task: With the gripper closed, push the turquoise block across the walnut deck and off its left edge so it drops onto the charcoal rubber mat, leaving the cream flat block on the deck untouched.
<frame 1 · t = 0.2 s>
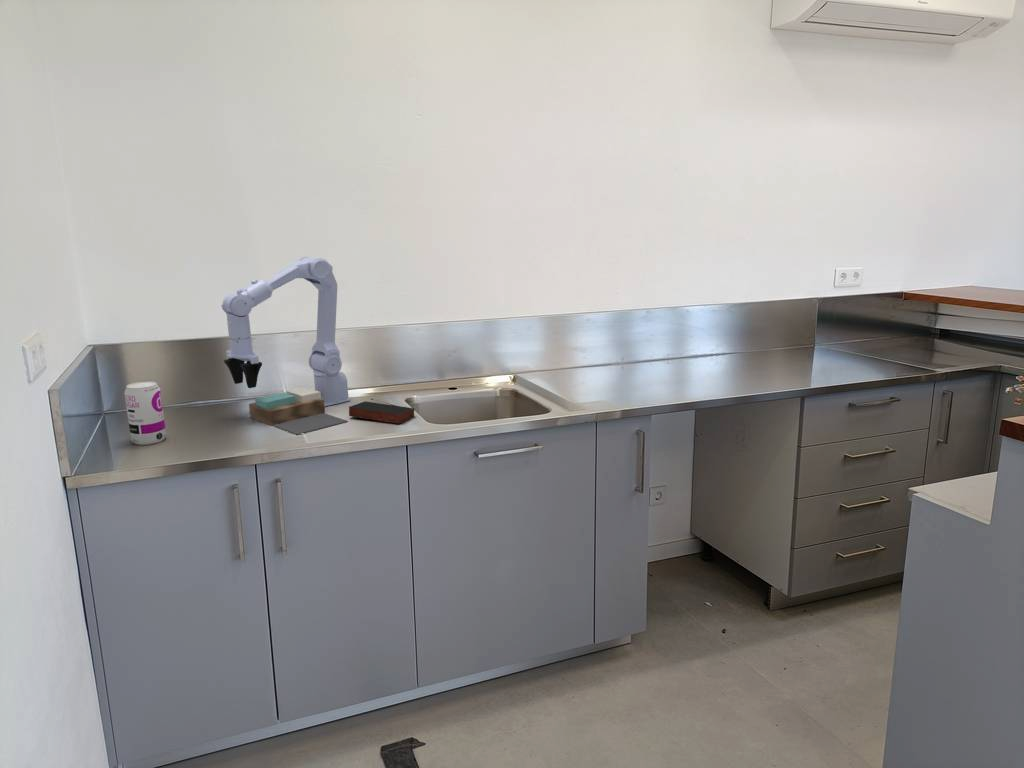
hand: (245, 385, 205), 10 cm above the counter, fingers open, 7 cm apart
turquoise block: (275, 404, 208), point 4 cm above the counter, touching deck
deck: (287, 415, 211), on the counter
supplement can: (149, 441, 189), on the counter
cream flat block: (303, 397, 214), point 4 cm above the counter, touching deck
mat: (311, 424, 202), on the counter
kitchen sponge: (370, 415, 203), point 2 cm above the counter
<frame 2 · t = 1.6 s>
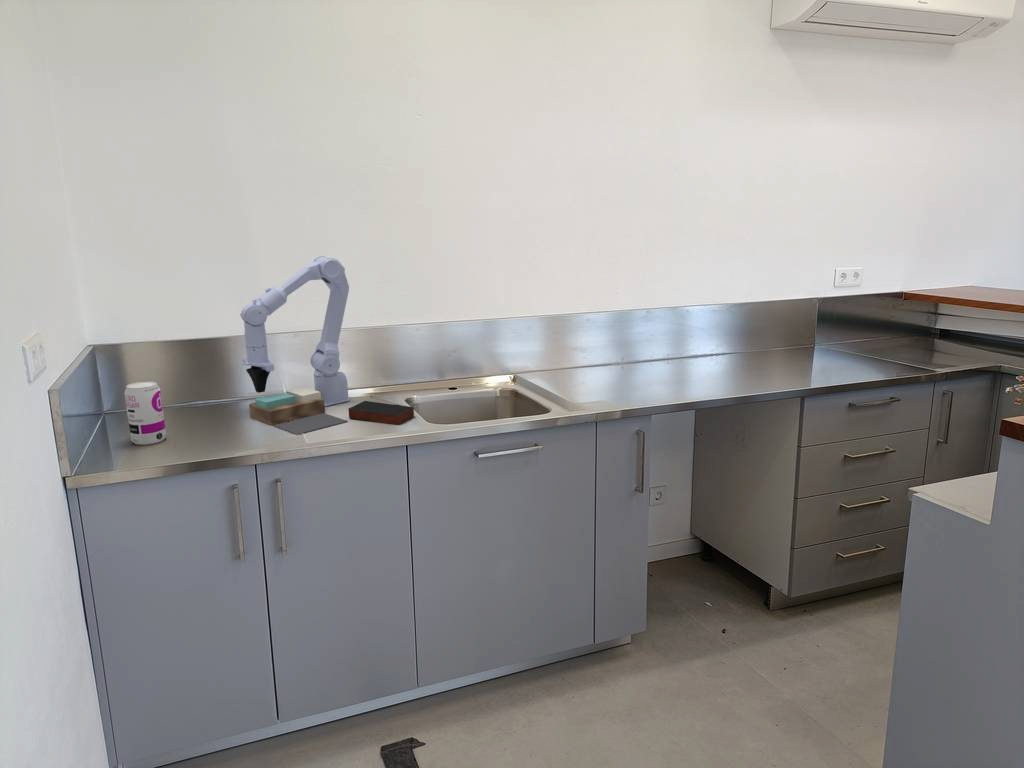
hand: (260, 391, 212), 6 cm above the counter, fingers closed
nothing on the counter moved.
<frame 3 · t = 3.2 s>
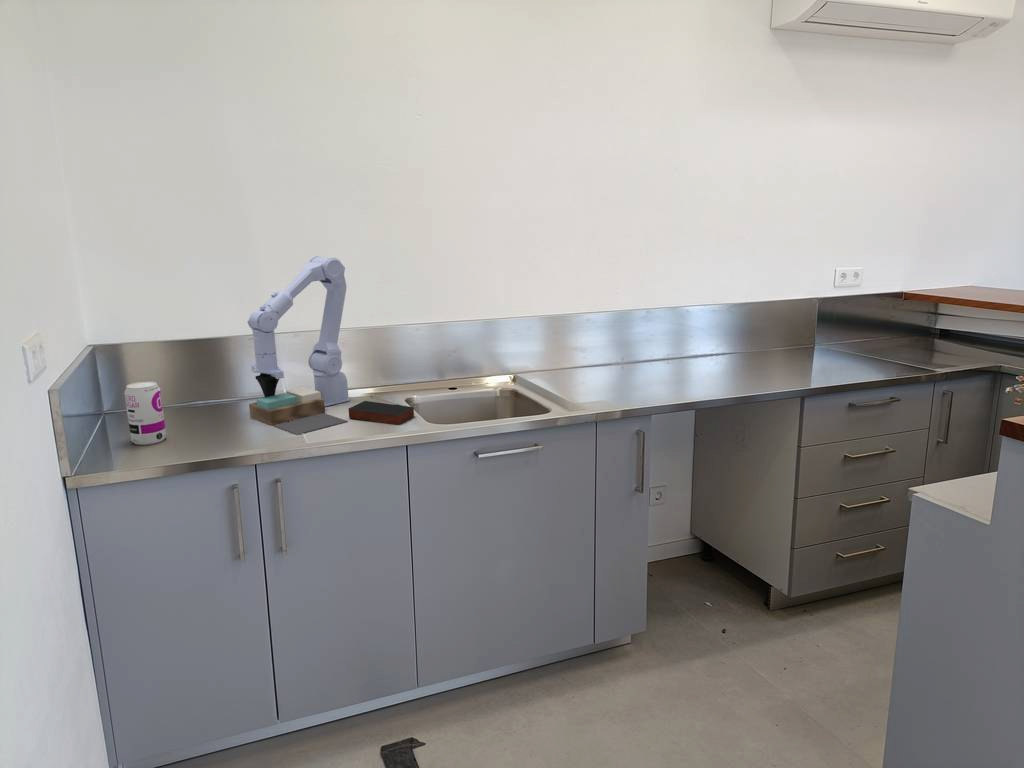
hand: (269, 399, 209), 5 cm above the counter, fingers closed
turquoise block: (277, 404, 207), point 4 cm above the counter, touching deck, gripper
everything else where it was.
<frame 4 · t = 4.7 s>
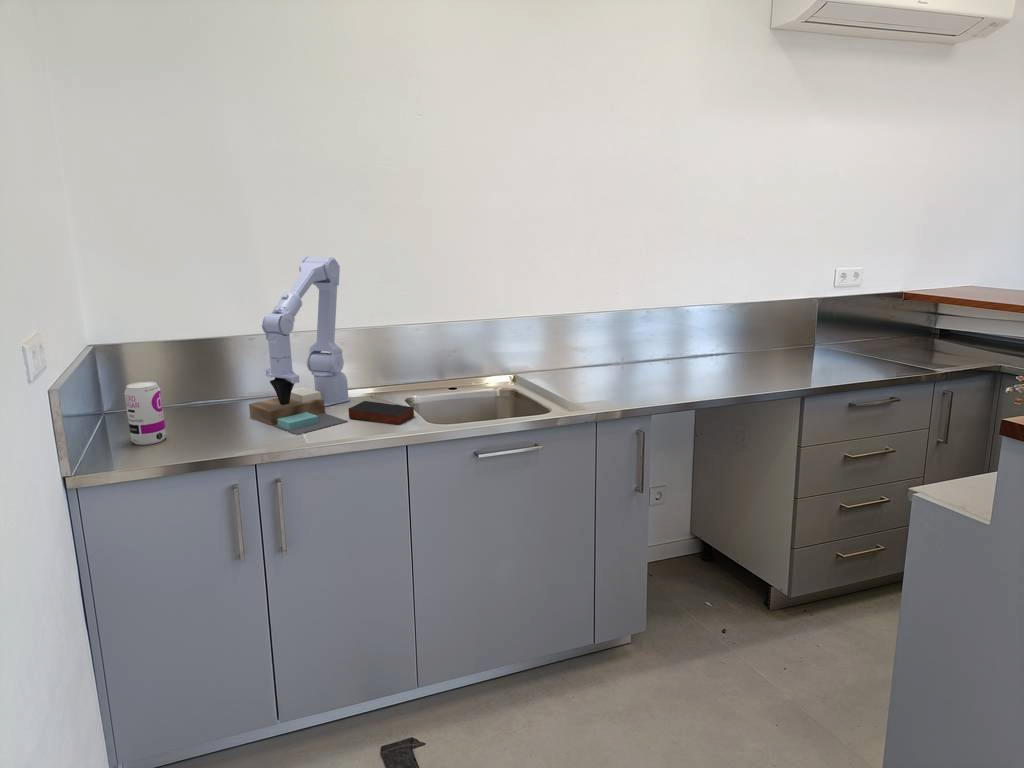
hand: (284, 404, 204), 5 cm above the counter, fingers closed
turquoise block: (297, 417, 200), point 2 cm above the counter, tilted 180°, touching mat
everything else where it was.
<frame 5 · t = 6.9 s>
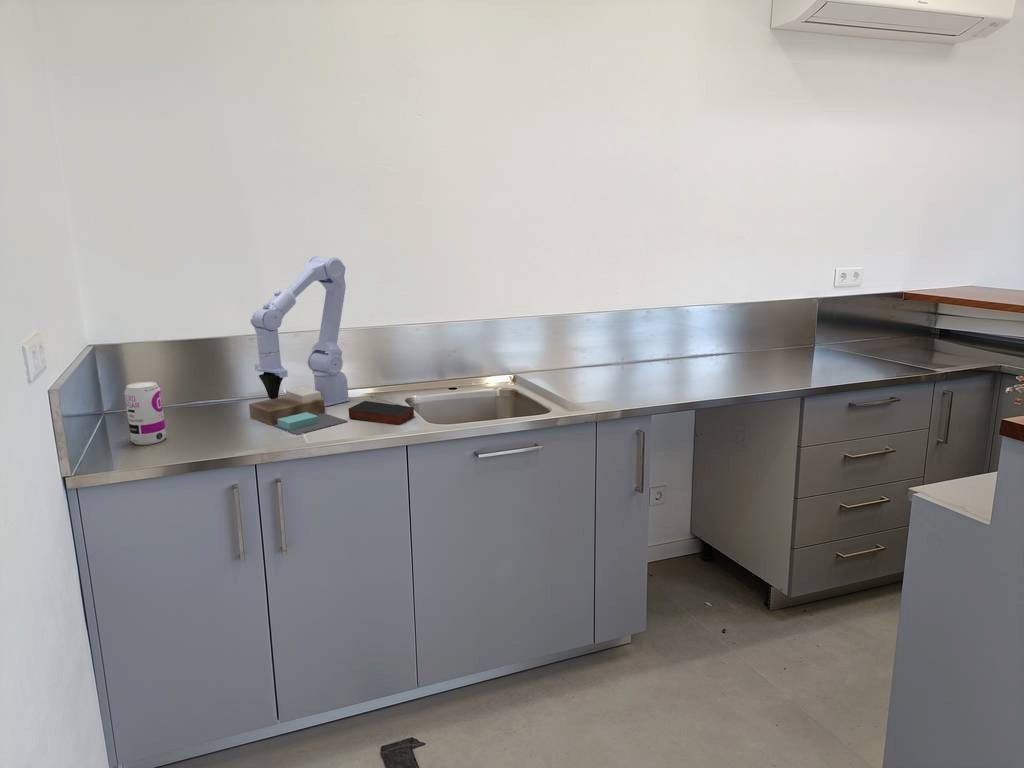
hand: (273, 398, 208), 6 cm above the counter, fingers closed
nothing on the counter moved.
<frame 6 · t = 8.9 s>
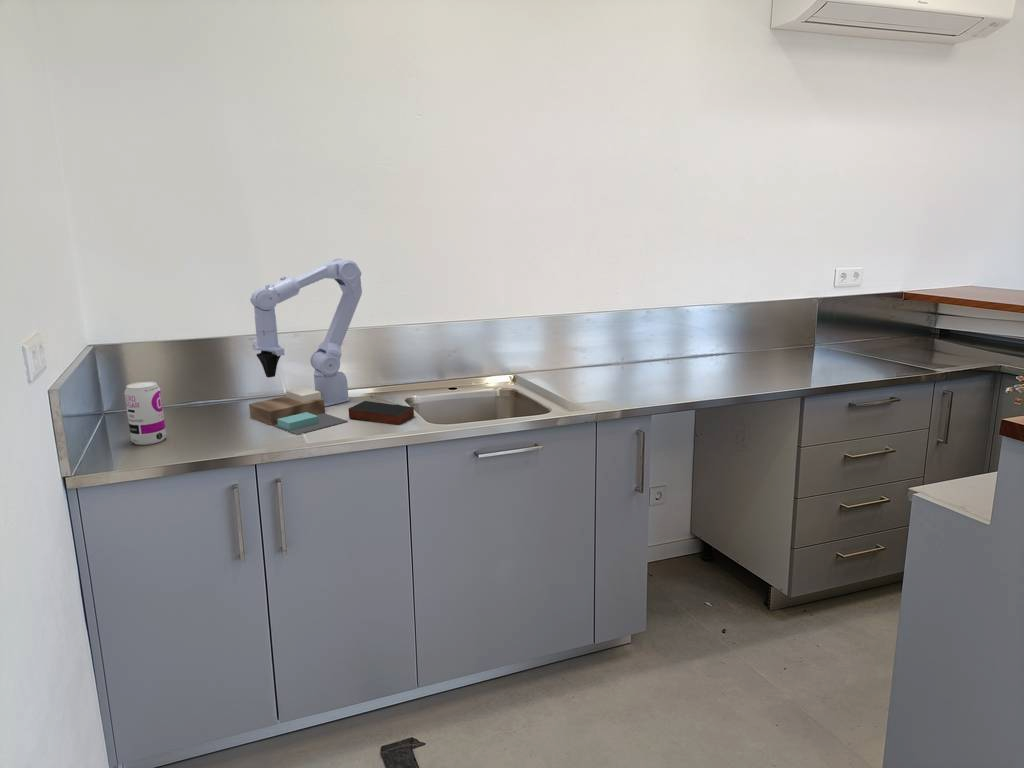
hand: (270, 376, 213), 10 cm above the counter, fingers closed
nothing on the counter moved.
at the end: turquoise block point 2.3 cm above the counter; turquoise block inside the target area on the mat (3.4 cm from its centre), point 2.3 cm above the mat's base; cream flat block moved 0.0 cm from its start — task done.
